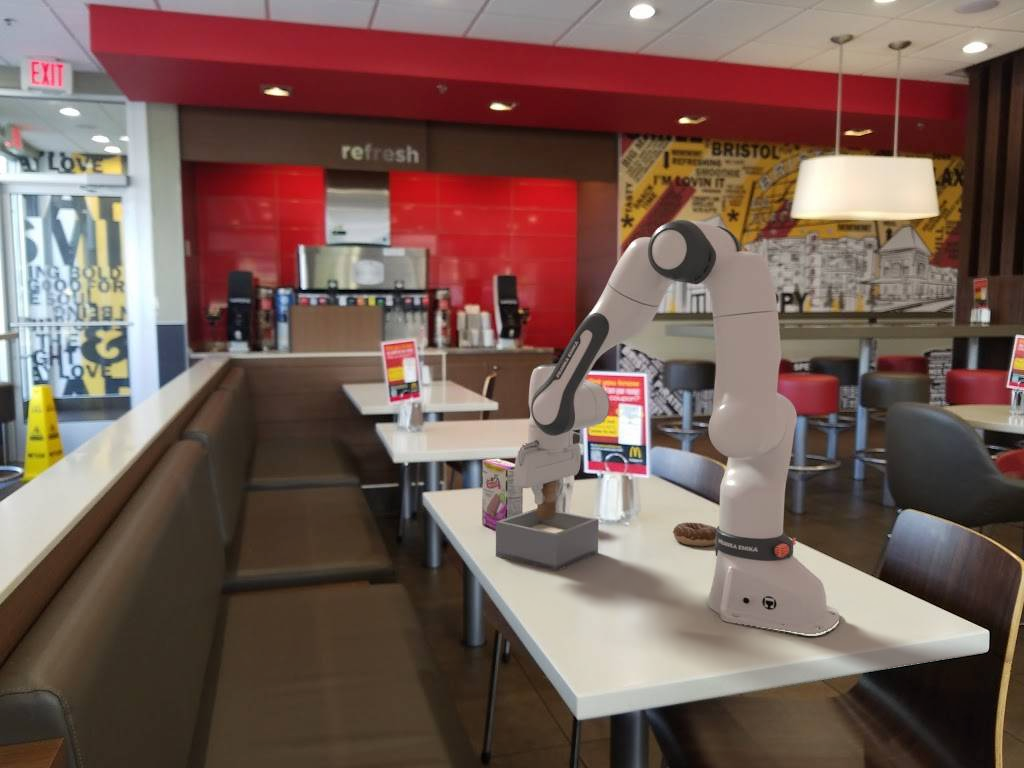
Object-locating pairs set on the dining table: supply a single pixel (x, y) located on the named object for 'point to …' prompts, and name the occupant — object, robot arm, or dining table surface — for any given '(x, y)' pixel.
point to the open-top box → (547, 539)
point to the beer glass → (565, 495)
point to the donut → (695, 534)
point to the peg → (548, 502)
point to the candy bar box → (499, 492)
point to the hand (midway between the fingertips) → (547, 501)
